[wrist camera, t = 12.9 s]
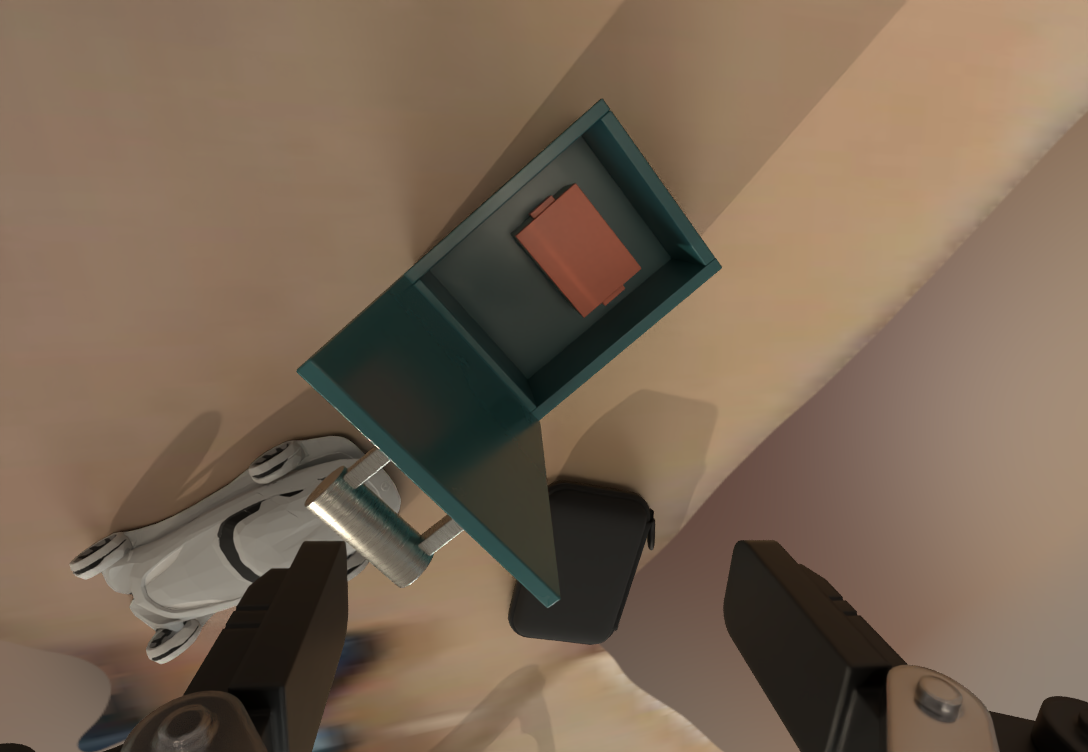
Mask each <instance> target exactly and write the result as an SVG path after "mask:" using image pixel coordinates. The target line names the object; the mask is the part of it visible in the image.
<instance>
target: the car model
mask: <svg viewBox="0 0 1088 752" xmlns="http://www.w3.org/2000/svg"><path fill="white" fill-rule="evenodd" d="M364 455H365V454H364V453H363V452H362V451H361V450H360V449H359V448H358V447H357V446H356V445H355V444H354V443H352V442H351V441H350V440H348V439H347V438H343V437H340V436H326V437H320V438H314V439H307V440H292V441H287V442H284V443H282V444H280V445H278V446H276V447H274V448H272V449H270V450H269V451H267V452H265V453H264V454H262V455H261V456H260V457H258V458H257V459H256V460H255V461H254V462H252V463H251V464H250V466H249V469H247V470H246V471H245V472H244V473H242V474H241V475H240V476H239V477H237V478H236V479H235V480H234V481H232V482H231V483H230V484H228V485H227V486H225V487H223V488H222V489H220V490H218V491H217V492H215V493H213V494H212V495H210V496H208V497H207V498H205V499H203V500H202V501H200V502H198V503H197V504H195V505H193V506H192V507H190V508H188V509H186V510H184V511H182V512H181V513H179V514H177V515H175V516H173V517H171V518H168V519H166V520H164V521H162V522H159V523H157V524H154V525H151V526H148V527H144V528H141V529H137V530H132V531H127V532H117V533H113V534H111V535H109V536H107V537H106V538H104V539H102V540H100V541H98V542H97V543H95V544H93V545H92V546H90V547H89V548H87V549H86V550H84V551H83V552H82V553H80V554H79V555H78V556H77V557H75V558H74V559H73V560H72V561H71V562H70V568H71V571H73V574H74V575H75V576H77V577H80V578H83V579H88V578H91V577H93V576H95V575H97V574H99V573H100V572H101V573H102V574H103V576H104V578H105V580H106V582H107V584H108V585H109V586H110V587H111V588H112V589H113V590H114V591H115V592H119V593H123V594H132V595H133V597H134V598H133V600H132V602H131V605H130V609H131V610H132V612H133V613H134V615H135V616H136V617H138V618H139V619H140V620H142V621H143V622H144V623H146V624H147V625H148V626H150V627H151V628H152V629H154V630H155V631H156V633H155V635H154V636H153V637H152V639H151V640H150V641H149V643H148V646H147V648H146V651H147V655H148V657H149V659H151V660H153V661H155V662H157V663H160V664H163V663H166V662H168V661H170V660H172V659H174V658H176V657H177V656H178V655H180V654H181V653H182V652H184V651H185V650H186V649H187V648H188V647H189V646H190V645H191V644H192V643H193V642H194V641H195V640H196V639H197V637H198V635H199V633H200V631H201V629H202V627H203V625H204V624H205V623H206V622H207V620H208V619H209V618H210V617H211V616H212V615H213V614H215V613H216V612H218V611H222V610H225V609H228V608H231V607H234V606H236V605H238V603H239V602H240V600H241V598H242V597H243V595H244V593H245V592H246V590H247V588H248V587H249V586H250V585H251V584H252V583H253V582H255V581H256V580H257V579H258V578H260V577H261V576H262V575H263V574H265V573H266V572H267V571H268V570H270V569H271V568H290V566H291V564H292V562H293V560H294V558H295V556H296V554H297V552H298V550H299V549H300V547H301V545H302V543H303V542H304V541H344V540H343V539H342V538H341V537H340V536H339V535H337V534H336V533H335V532H334V531H333V530H332V529H330V528H329V527H328V526H327V525H326V524H325V523H323V522H322V521H321V520H320V519H319V518H318V517H316V516H315V515H314V514H313V513H312V512H311V511H309V510H308V509H307V508H306V507H305V506H304V504H305V501H306V500H307V498H308V497H309V495H310V494H311V493H312V492H313V491H314V489H315V488H316V487H317V486H318V485H319V484H320V483H321V482H322V481H323V480H324V479H325V478H326V477H327V476H328V475H330V474H331V473H332V472H333V471H334V470H336V469H337V468H339V467H341V466H345V467H346V468H347V469H348V468H349V467H350V466H352V465H353V464H354V463H355V462H356V461H358V460H359V459H360V458H361V457H363V456H364ZM364 484H365V485H366V486H367V487H368V488H370V489H371V490H372V491H373V492H374V493H375V494H376V495H377V496H378V497H379V498H381V499H382V500H383V501H384V502H385V503H386V504H387V505H388V506H389V507H390V508H392V509H393V510H394V511H395V512H396V513H398V511H399V508H400V503H401V499H400V496H399V493H398V491H397V488H396V486H395V484H394V483H393V481H392V480H391V478H390V477H389V475H388V474H387V473H386V472H385V471H384V470H383V468H381V469H380V470H379V471H378V472H377V473H375V474H374V475H373V476H372V477H370V478H369V479H368V480H367V481H366V482H364ZM345 543H346V549H347V581H349V580H351V579H352V578H354V577H355V576H357V575H358V574H359V573H360V572H361V571H362V570H363V569H364V568H365V567H366V565H367V564H368V563H369V561H368V560H367V559H365V558H364V557H363V556H362V555H361V554H360V553H358V552H357V551H356V550H355V549H354V548H353V547H351V546H350V545H349V544H348V543H347V542H346V541H345Z"/></svg>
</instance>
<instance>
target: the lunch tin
mask: <svg viewBox="0 0 1088 752" xmlns="http://www.w3.org/2000/svg"><path fill="white" fill-rule="evenodd" d="M609 110H610V108H609V107H608V105H607V104H606V103H605V101H604V100H603V99H600V100H599V101H598V102H597V103H596V104H594V105H593V106H592V107H591V108H590V109H589V110H588V111H587V112H585V113H584V114H583V115H582V116H581V117H580V118H579V119H578V120H576V121H575V122H574V123H573V124H572V125H571V126H570V127H569V128H567V129H566V130H565V131H564V132H563V133H562V134H561V135H560V136H558V137H557V138H556V139H555V140H554V141H553V142H552V143H551V144H549V145H548V146H547V147H546V148H545V149H544V150H543V151H542V152H540V153H539V154H538V155H537V156H536V157H535V158H534V159H533V160H531V161H530V162H529V163H528V164H527V165H526V166H525V167H524V168H522V169H521V170H520V171H519V172H518V173H517V174H516V175H515V176H513V177H512V178H511V179H510V180H509V181H508V182H507V183H506V184H504V185H503V186H502V187H501V188H500V189H499V190H498V191H497V192H495V193H494V194H493V195H492V196H491V197H490V198H489V199H488V200H486V201H485V202H484V203H483V204H482V205H481V206H480V207H479V208H477V209H476V210H475V211H474V212H473V213H472V214H471V215H470V216H468V217H467V218H466V219H465V220H464V221H463V222H462V223H461V224H459V225H458V226H457V227H456V228H455V229H454V230H453V231H452V232H450V233H449V234H448V235H447V236H446V237H445V238H444V239H443V240H441V241H440V242H439V243H438V244H437V245H436V246H435V247H434V248H432V249H431V250H430V251H429V252H428V253H427V254H426V255H425V256H423V257H422V258H421V259H420V260H419V261H418V262H417V263H416V264H414V265H413V266H412V267H411V268H410V269H409V270H408V271H407V272H406V273H404V274H403V275H405V276H406V278H407V279H408V280H409V281H410V282H411V283H412V284H413V285H414V286H415V287H416V288H417V289H418V291H419V292H420V293H421V294H422V295H423V296H424V297H425V298H426V299H427V300H428V301H429V302H430V304H431V305H432V306H433V307H434V308H435V309H436V310H437V311H438V312H439V313H440V314H441V315H442V317H443V318H444V319H445V320H446V321H447V322H448V323H449V324H450V325H451V326H452V327H453V328H454V330H455V331H456V332H457V333H458V334H459V335H460V336H461V337H462V338H463V339H464V340H465V341H466V343H467V344H468V345H469V346H470V347H471V348H472V349H473V350H474V351H475V352H476V353H477V354H478V356H479V357H480V358H481V359H482V360H483V361H484V362H485V363H486V364H487V365H488V366H489V368H490V369H491V370H492V371H493V372H494V373H495V374H496V375H497V376H498V377H499V378H500V379H501V381H502V382H503V383H504V384H505V385H506V386H507V387H508V388H509V389H510V390H511V391H512V392H513V394H514V395H515V396H516V397H517V398H518V399H519V400H520V401H521V402H522V403H523V404H524V405H525V407H526V408H527V409H528V410H529V411H530V412H531V413H532V414H533V415H534V416H535V417H536V418H537V420H538V421H539V420H540V419H542V418H543V417H544V416H545V415H546V414H548V413H549V412H550V411H551V410H552V409H553V408H555V407H556V406H557V405H558V404H559V403H561V402H562V401H563V400H564V399H565V398H567V397H568V396H569V395H570V394H571V393H573V392H574V391H575V390H576V389H577V388H579V387H580V386H581V385H582V384H583V383H585V382H586V381H587V380H588V379H589V378H591V377H592V376H593V375H594V374H595V373H597V372H598V371H599V370H600V369H601V368H603V367H604V366H605V365H606V364H607V363H609V362H610V361H611V360H612V359H613V358H615V357H616V356H617V355H618V354H619V353H621V352H622V351H623V350H624V349H625V348H627V347H628V346H629V345H630V344H631V343H633V342H634V341H635V340H636V339H637V338H639V337H640V336H641V335H642V334H643V333H645V332H646V331H647V330H648V329H649V328H651V327H652V326H653V325H654V324H655V323H657V322H658V321H659V320H660V319H661V318H663V317H664V316H665V315H666V314H667V313H669V312H670V311H671V310H672V309H673V308H675V307H676V306H677V305H678V304H679V303H681V302H682V301H683V300H684V299H685V298H687V297H688V296H689V295H690V294H691V293H693V292H694V291H695V290H696V289H697V288H699V287H700V286H701V285H702V284H703V283H705V282H706V281H707V280H708V279H709V278H711V277H712V276H713V275H714V274H715V273H717V272H718V271H719V270H720V269H721V268H722V266H721V265H720V263H719V262H718V261H717V259H716V258H715V257H714V255H713V254H712V252H711V251H710V250H709V248H708V247H707V245H706V244H705V243H704V241H703V240H702V238H701V237H700V235H699V234H698V233H697V231H696V230H695V228H694V227H693V226H692V224H691V223H690V221H689V220H688V218H687V217H686V216H685V214H684V213H683V211H682V210H681V209H680V207H679V206H678V204H677V203H676V202H675V200H674V199H673V197H672V196H671V194H670V193H669V192H668V190H667V189H666V187H665V186H664V185H663V183H662V182H661V180H660V179H659V178H658V176H657V175H656V173H655V172H654V170H653V169H652V168H651V166H650V165H649V163H648V162H647V161H646V159H645V158H644V156H643V155H642V153H641V152H640V151H639V149H638V148H637V146H636V145H635V144H634V142H633V141H632V139H631V138H630V137H629V135H628V134H627V132H626V131H625V129H624V128H623V127H622V125H621V124H620V122H619V121H618V120H617V118H616V117H615V115H614V114H613V113H612V111H611V110H610V111H609ZM574 183H576V184H577V185H578V186H579V188H580V189H581V190H582V192H583V193H584V194H585V196H586V197H587V198H588V199H589V201H590V202H591V203H592V205H593V206H594V207H595V208H596V210H597V211H598V212H599V214H600V215H601V216H602V218H603V219H604V220H605V221H606V223H607V224H608V225H609V227H610V228H611V229H612V230H613V232H614V233H615V234H616V236H617V237H618V238H619V240H620V241H621V242H622V243H623V245H624V246H625V247H626V249H627V250H628V251H629V253H630V254H631V255H632V256H633V258H634V259H635V260H636V262H637V263H638V264H639V265H640V267H641V270H639V271H638V272H637V273H636V274H635V275H634V276H632V277H631V278H630V279H629V280H628V281H627V282H626V283H624V284H623V286H624V287H625V289H624V290H623V291H622V292H621V293H620V294H619V295H617V296H616V297H615V298H614V299H613V300H612V301H610V302H609V303H608V304H607V305H606V306H604V305H603V304H602V303H601V304H600V305H599V306H598V307H596V308H595V309H594V310H593V311H592V312H591V313H589V314H588V315H587V316H586V317H585V318H584V317H582V316H581V315H580V314H579V313H578V312H577V311H576V310H575V309H574V308H573V307H572V306H571V305H570V304H569V302H568V301H567V300H566V299H565V298H564V296H563V295H562V294H561V293H560V292H559V290H558V289H557V288H556V287H555V286H554V285H553V283H552V282H551V281H550V280H549V279H548V277H547V276H546V275H545V274H544V273H543V271H542V270H541V269H540V268H539V267H538V265H537V264H536V263H535V262H534V261H533V260H532V258H531V257H530V256H529V255H528V254H527V252H526V251H525V250H524V249H523V248H522V246H521V245H520V244H519V243H518V242H517V240H516V239H515V238H514V237H513V236H512V235H511V233H512V232H513V231H515V230H516V229H517V228H518V227H519V226H520V225H521V224H522V223H523V222H525V221H526V220H527V219H528V218H529V217H530V216H529V213H530V212H531V211H532V210H533V209H535V208H536V207H537V206H538V205H539V204H540V203H541V202H542V201H544V200H545V199H546V198H547V197H548V196H551V195H552V196H554V195H555V194H556V193H557V192H558V191H559V190H561V189H562V188H563V187H564V186H567V185H571V184H574Z"/></svg>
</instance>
